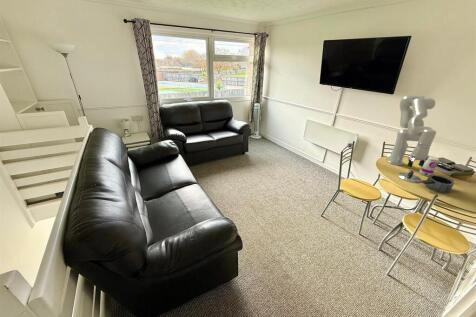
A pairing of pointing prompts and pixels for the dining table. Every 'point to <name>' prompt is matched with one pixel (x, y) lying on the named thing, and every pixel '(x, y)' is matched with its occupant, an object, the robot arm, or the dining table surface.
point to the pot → (438, 183)
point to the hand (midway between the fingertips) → (414, 166)
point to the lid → (409, 177)
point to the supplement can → (429, 166)
